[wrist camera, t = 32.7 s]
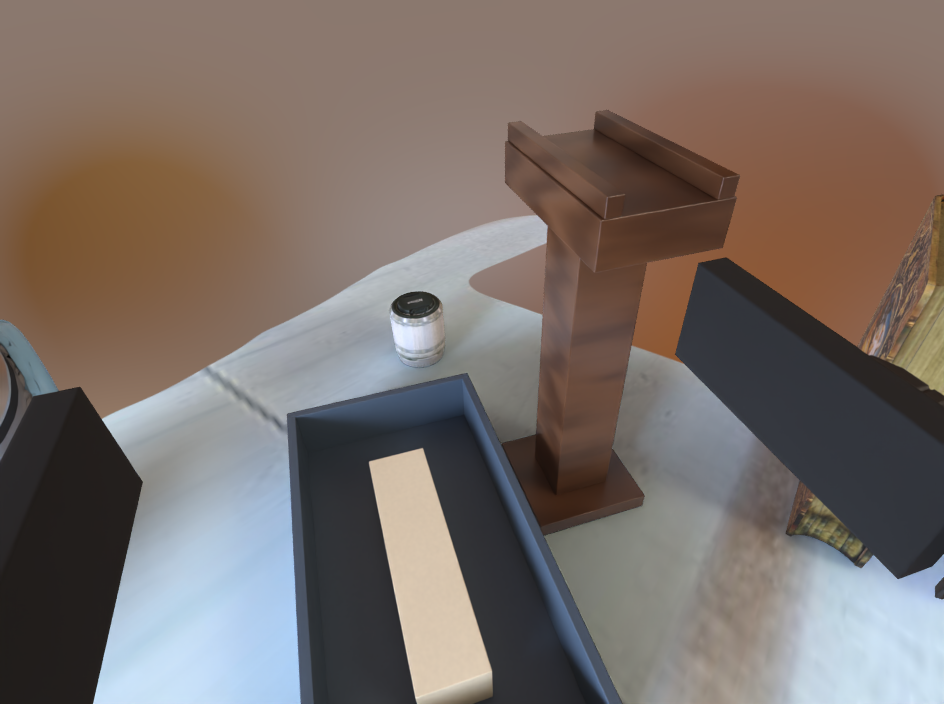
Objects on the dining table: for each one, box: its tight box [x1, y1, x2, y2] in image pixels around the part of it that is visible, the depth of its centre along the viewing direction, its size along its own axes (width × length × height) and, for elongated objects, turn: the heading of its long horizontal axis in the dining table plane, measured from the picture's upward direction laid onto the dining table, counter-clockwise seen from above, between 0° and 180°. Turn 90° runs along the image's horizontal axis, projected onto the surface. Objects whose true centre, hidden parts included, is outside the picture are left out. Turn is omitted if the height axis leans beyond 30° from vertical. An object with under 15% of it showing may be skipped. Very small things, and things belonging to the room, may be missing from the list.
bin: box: [287, 373, 622, 704], centre depth 42 cm, size 32×18×7 cm, turn 17°
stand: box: [502, 110, 740, 536], centre depth 42 cm, size 14×10×31 cm
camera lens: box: [389, 292, 445, 367], centre depth 65 cm, size 6×6×8 cm
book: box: [786, 195, 944, 568], centre depth 41 cm, size 16×6×25 cm, turn 145°
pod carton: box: [369, 448, 493, 704], centre depth 41 cm, size 19×5×4 cm, turn 17°
